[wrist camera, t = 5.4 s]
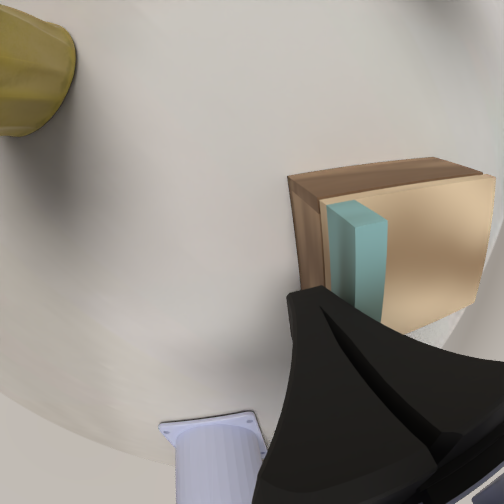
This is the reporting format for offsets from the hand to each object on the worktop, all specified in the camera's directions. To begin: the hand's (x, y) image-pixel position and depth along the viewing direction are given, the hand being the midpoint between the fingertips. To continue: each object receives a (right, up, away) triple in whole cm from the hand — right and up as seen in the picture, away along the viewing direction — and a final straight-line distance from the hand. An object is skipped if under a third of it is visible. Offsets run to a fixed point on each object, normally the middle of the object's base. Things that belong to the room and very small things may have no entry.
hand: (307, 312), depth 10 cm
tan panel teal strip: (+5, +2, +1) cm, 6 cm away
